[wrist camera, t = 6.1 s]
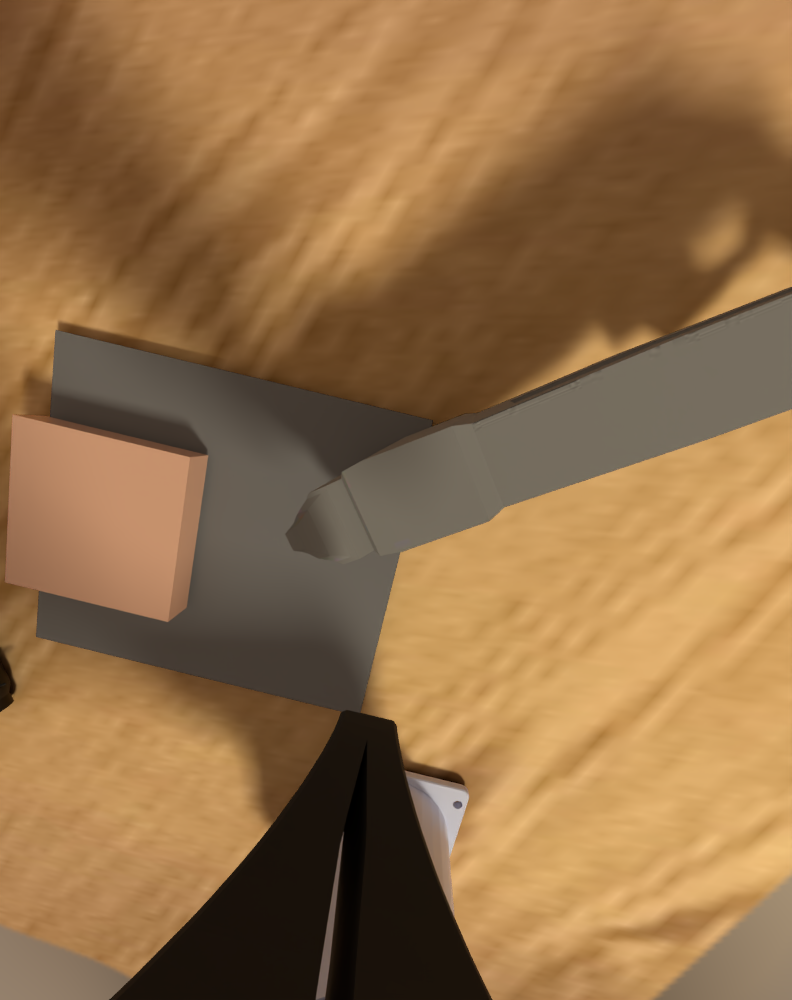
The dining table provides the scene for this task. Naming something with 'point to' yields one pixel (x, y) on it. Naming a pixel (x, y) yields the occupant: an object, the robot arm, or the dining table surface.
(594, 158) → the dining table surface
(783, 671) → the dining table surface
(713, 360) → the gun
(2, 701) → the door handle
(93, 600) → the tile
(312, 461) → the mat
